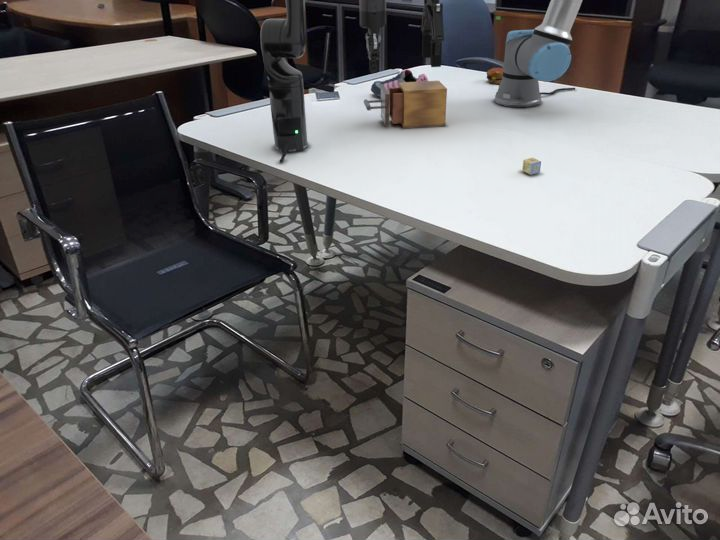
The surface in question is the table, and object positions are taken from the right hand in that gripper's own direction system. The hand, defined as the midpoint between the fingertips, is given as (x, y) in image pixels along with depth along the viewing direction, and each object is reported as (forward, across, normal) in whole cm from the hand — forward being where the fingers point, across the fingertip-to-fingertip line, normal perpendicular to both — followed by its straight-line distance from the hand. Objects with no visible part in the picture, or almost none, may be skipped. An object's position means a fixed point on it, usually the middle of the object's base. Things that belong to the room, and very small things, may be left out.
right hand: (431, 62), depth 169 cm
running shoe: (+18, -28, -4) cm, 33 cm away
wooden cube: (+18, 0, -2) cm, 18 cm away
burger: (+18, -46, +37) cm, 62 cm away
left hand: (+2, 0, -17) cm, 17 cm away
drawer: (+17, 0, -11) cm, 20 cm away
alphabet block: (+18, +46, +16) cm, 52 cm away
